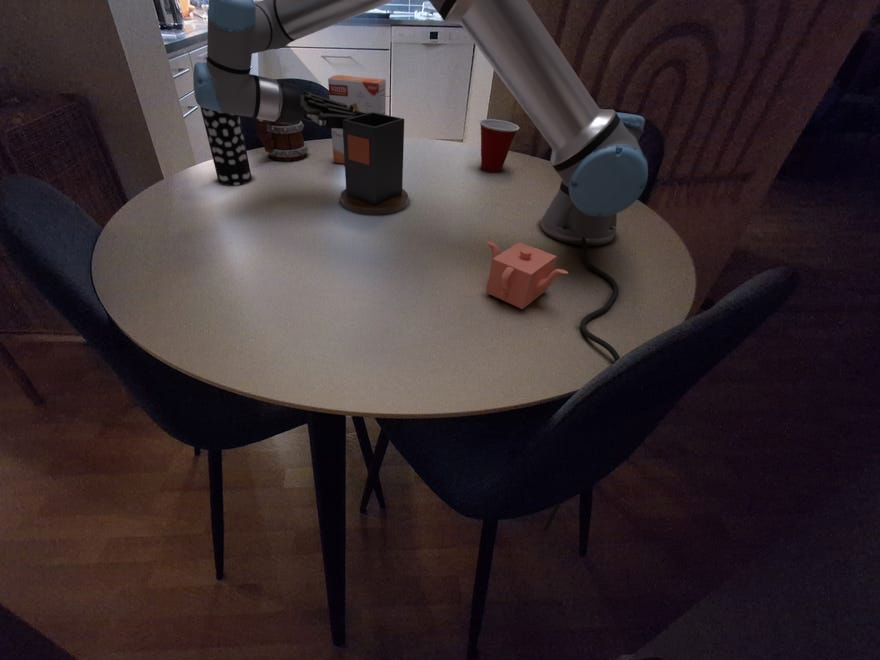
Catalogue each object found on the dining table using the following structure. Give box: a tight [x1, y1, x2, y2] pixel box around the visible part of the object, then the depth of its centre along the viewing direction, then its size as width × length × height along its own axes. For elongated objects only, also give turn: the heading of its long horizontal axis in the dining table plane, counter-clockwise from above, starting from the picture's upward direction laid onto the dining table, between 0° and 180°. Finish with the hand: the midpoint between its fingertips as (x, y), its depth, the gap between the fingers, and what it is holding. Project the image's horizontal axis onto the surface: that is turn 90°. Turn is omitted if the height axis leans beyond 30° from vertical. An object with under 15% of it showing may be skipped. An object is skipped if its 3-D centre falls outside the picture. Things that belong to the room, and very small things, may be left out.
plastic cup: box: [479, 118, 520, 173], centre depth 120 cm, size 11×11×12 cm
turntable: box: [340, 188, 409, 216], centre depth 104 cm, size 16×16×2 cm
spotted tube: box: [199, 106, 253, 186], centre depth 106 cm, size 8×8×20 cm
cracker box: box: [327, 74, 387, 165], centre depth 118 cm, size 14×6×21 cm, turn 73°
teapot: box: [485, 240, 569, 310], centre depth 72 cm, size 12×15×8 cm
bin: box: [342, 112, 405, 205], centre depth 98 cm, size 9×10×16 cm
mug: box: [256, 118, 309, 162], centre depth 123 cm, size 12×14×15 cm
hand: (378, 123), depth 101 cm, fingers closed
